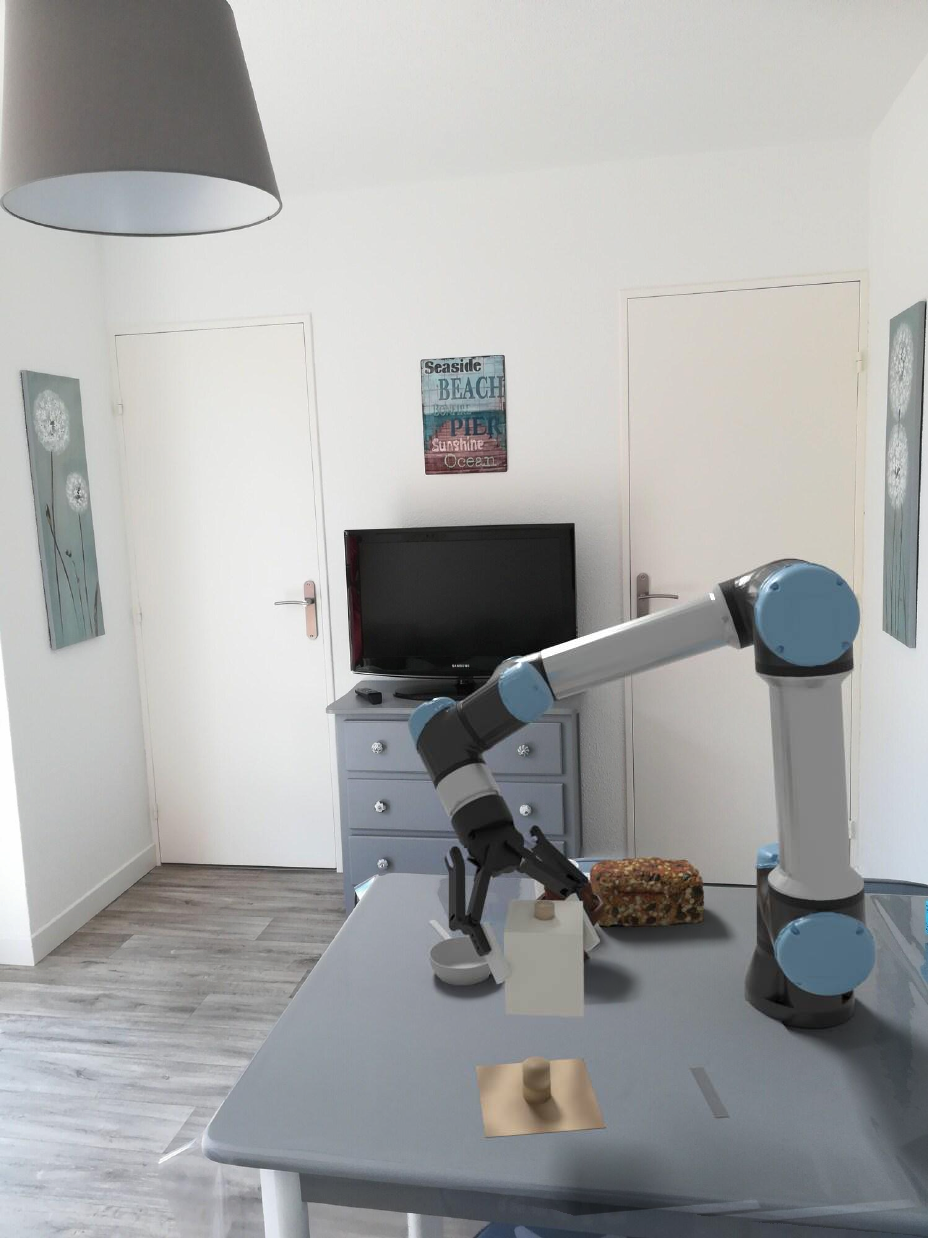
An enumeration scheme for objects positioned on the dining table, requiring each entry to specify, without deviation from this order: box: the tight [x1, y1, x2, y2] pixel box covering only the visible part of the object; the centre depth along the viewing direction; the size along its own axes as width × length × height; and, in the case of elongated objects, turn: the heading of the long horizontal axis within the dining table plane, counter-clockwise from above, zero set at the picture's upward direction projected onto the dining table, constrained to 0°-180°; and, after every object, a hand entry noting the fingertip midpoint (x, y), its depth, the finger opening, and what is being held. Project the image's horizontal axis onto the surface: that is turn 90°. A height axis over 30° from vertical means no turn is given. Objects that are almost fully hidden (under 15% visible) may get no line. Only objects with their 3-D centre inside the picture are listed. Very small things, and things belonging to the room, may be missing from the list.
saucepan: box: [428, 919, 492, 986], centre depth 154 cm, size 11×18×4 cm, turn 25°
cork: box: [521, 1056, 551, 1104], centre depth 117 cm, size 3×3×4 cm
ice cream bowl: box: [535, 880, 605, 964], centre depth 154 cm, size 11×11×15 cm
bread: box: [589, 856, 705, 928], centre depth 169 cm, size 19×11×10 cm, turn 90°
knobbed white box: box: [503, 898, 585, 1018], centre depth 114 cm, size 9×9×11 cm
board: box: [475, 1057, 607, 1139], centre depth 117 cm, size 14×14×1 cm
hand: (550, 962), depth 113 cm, fingers closed on knobbed white box, 13 cm apart
